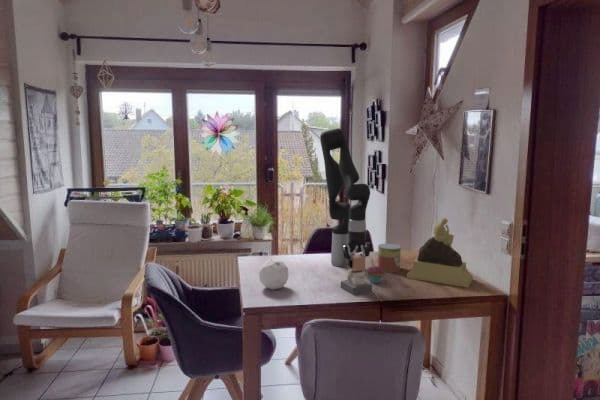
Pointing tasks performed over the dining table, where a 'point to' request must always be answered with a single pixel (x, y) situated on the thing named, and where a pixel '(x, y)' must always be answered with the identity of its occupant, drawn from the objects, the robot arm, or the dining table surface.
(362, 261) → the terracotta cube
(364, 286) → the plinth
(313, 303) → the dining table surface
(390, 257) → the canned food
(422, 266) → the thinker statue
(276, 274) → the geodesic sphere
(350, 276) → the cream cube
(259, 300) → the dining table surface
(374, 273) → the cupcake
